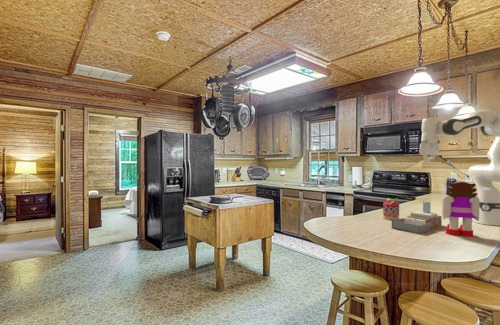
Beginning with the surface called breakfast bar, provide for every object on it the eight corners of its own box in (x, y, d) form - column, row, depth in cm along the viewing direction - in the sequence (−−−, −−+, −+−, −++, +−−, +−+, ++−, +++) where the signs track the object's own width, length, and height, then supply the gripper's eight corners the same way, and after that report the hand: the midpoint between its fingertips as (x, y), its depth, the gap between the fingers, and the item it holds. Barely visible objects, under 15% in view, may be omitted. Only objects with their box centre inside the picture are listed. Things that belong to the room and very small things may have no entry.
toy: (474, 233, 157) (474, 181, 157) (482, 237, 149) (483, 182, 148) (438, 231, 162) (438, 180, 162) (444, 235, 153) (444, 181, 153)
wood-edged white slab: (421, 221, 187) (421, 213, 187) (441, 225, 177) (441, 216, 177) (406, 225, 175) (406, 216, 175) (427, 229, 165) (427, 219, 165)
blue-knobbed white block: (418, 214, 183) (418, 200, 183) (437, 216, 174) (437, 202, 174) (410, 215, 177) (410, 201, 177) (429, 218, 168) (429, 204, 168)
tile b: (406, 217, 174) (404, 217, 173) (414, 218, 170) (412, 219, 169) (406, 225, 174) (404, 225, 173) (414, 226, 170) (412, 227, 169)
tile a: (416, 219, 169) (414, 219, 168) (425, 220, 165) (423, 221, 164) (416, 227, 169) (414, 227, 168) (425, 228, 165) (423, 229, 164)
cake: (382, 219, 195) (382, 198, 194) (383, 216, 204) (383, 196, 204) (399, 220, 189) (399, 199, 189) (399, 218, 199) (399, 197, 199)
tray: (403, 225, 177) (403, 217, 177) (430, 230, 164) (431, 222, 164) (391, 228, 169) (391, 220, 169) (419, 233, 156) (419, 225, 156)
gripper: (427, 139, 175) (427, 161, 175) (441, 141, 186) (440, 161, 187) (416, 140, 180) (416, 161, 180) (430, 141, 192) (430, 161, 192)
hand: (429, 161), depth 183 cm, fingers open, 8 cm apart
